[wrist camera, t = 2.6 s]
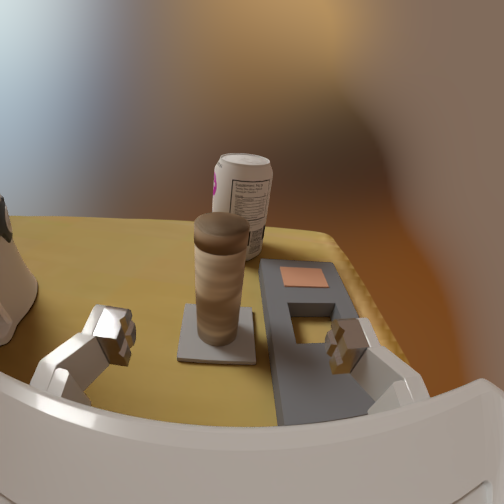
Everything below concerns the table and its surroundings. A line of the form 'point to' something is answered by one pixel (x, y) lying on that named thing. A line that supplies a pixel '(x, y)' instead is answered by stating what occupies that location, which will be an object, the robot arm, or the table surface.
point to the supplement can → (244, 193)
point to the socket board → (306, 355)
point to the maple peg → (219, 274)
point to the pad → (232, 353)
